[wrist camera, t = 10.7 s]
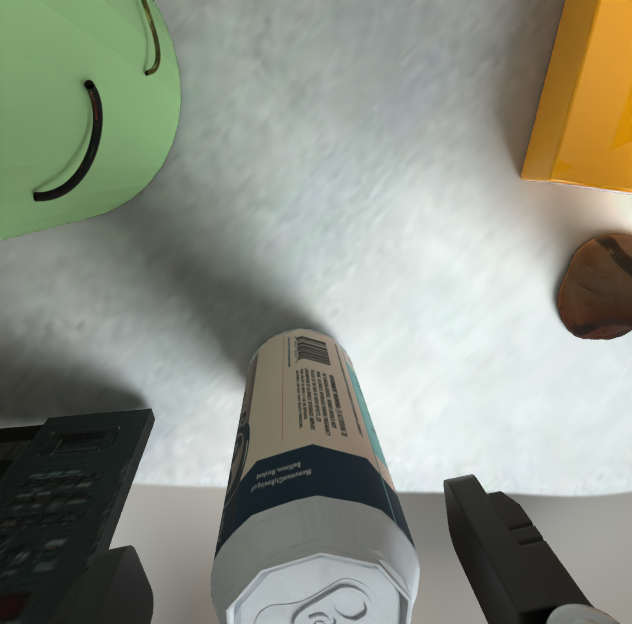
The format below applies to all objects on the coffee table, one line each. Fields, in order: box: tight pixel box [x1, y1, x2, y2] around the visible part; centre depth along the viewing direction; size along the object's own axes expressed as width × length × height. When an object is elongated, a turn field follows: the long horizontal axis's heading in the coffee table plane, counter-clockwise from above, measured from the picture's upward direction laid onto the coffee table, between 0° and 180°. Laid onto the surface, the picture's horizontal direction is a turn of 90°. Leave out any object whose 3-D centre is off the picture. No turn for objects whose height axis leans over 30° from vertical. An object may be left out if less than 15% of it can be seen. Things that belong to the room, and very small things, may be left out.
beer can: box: [211, 329, 420, 624], centre depth 15 cm, size 5×5×12 cm
